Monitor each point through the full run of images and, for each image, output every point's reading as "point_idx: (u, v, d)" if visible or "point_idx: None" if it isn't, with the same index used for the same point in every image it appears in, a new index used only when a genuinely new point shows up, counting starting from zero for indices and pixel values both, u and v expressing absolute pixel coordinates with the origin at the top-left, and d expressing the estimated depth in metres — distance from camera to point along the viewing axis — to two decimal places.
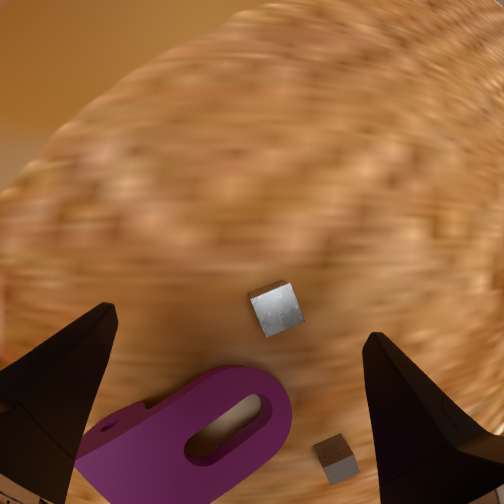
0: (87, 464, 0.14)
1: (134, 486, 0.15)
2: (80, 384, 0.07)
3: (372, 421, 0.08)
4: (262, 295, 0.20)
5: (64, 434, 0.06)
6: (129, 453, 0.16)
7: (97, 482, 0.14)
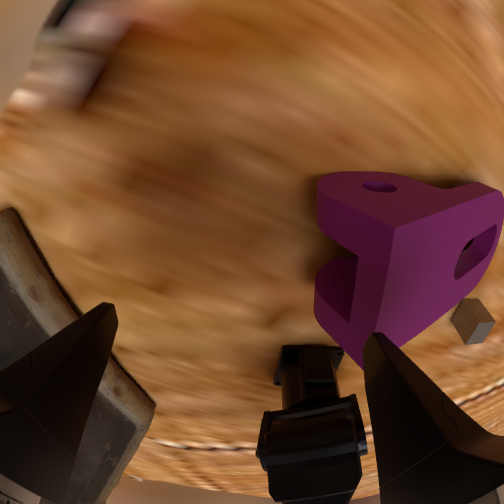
0: (407, 237, 0.12)
1: (415, 285, 0.14)
2: (80, 384, 0.07)
3: (372, 421, 0.08)
4: None
5: (64, 434, 0.06)
6: (442, 236, 0.14)
7: (395, 271, 0.13)
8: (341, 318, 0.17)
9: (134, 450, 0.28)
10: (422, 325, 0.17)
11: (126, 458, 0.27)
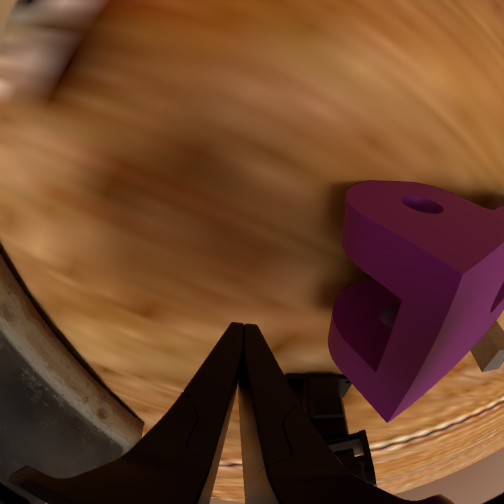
0: (469, 282, 0.08)
1: (460, 331, 0.10)
2: (229, 415, 0.07)
3: (240, 422, 0.08)
4: None
5: (215, 472, 0.06)
6: (494, 272, 0.10)
7: (448, 323, 0.09)
8: (367, 365, 0.13)
9: None
10: (451, 365, 0.13)
11: None
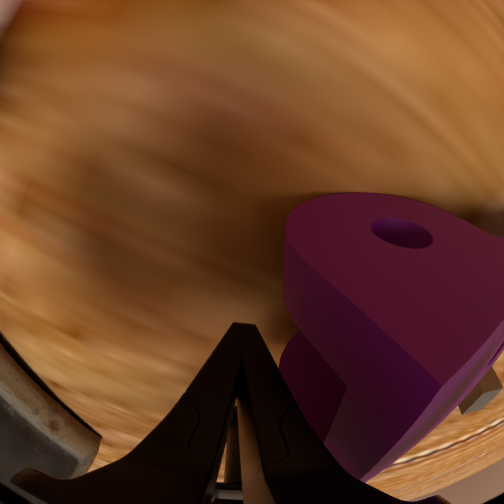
0: (456, 378, 0.04)
1: (438, 414, 0.07)
2: (231, 415, 0.07)
3: (238, 422, 0.08)
4: None
5: (217, 472, 0.06)
6: (499, 336, 0.06)
7: (414, 429, 0.05)
8: None
9: None
10: (430, 431, 0.10)
11: None
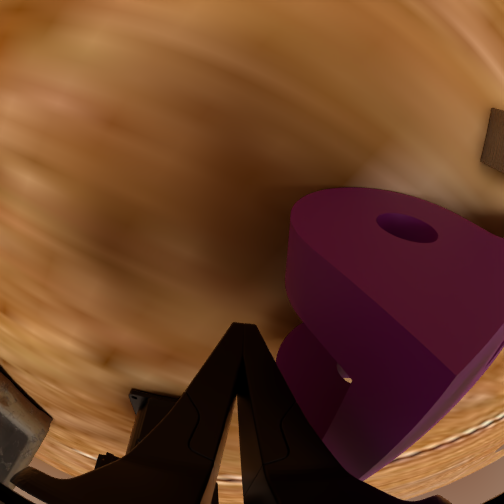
0: (466, 371, 0.04)
1: (440, 412, 0.07)
2: (230, 415, 0.07)
3: (238, 422, 0.08)
4: None
5: (217, 472, 0.06)
6: (502, 334, 0.06)
7: (420, 424, 0.05)
8: None
9: (27, 459, 0.21)
10: (426, 431, 0.10)
11: (20, 465, 0.19)
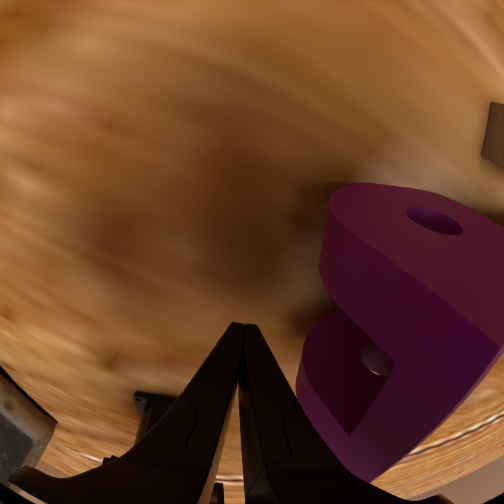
0: (501, 348, 0.04)
1: (466, 396, 0.07)
2: (229, 415, 0.07)
3: (240, 422, 0.08)
4: None
5: (215, 472, 0.06)
6: None
7: (459, 402, 0.05)
8: (339, 425, 0.09)
9: (33, 463, 0.21)
10: (445, 420, 0.10)
11: None
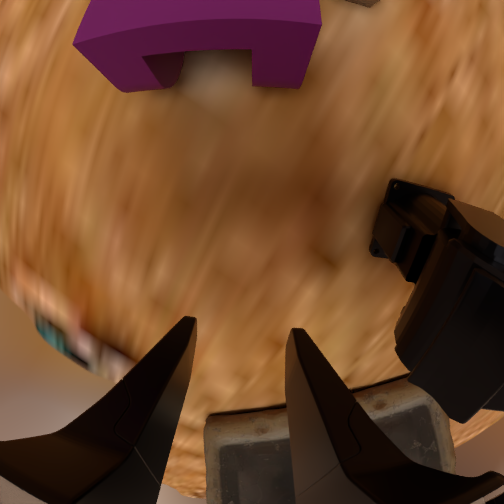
0: (94, 20, 0.07)
1: None
2: (173, 407, 0.07)
3: (289, 424, 0.08)
4: None
5: (158, 463, 0.06)
6: None
7: (128, 19, 0.07)
8: (253, 57, 0.10)
9: (442, 420, 0.25)
10: None
11: (441, 433, 0.24)
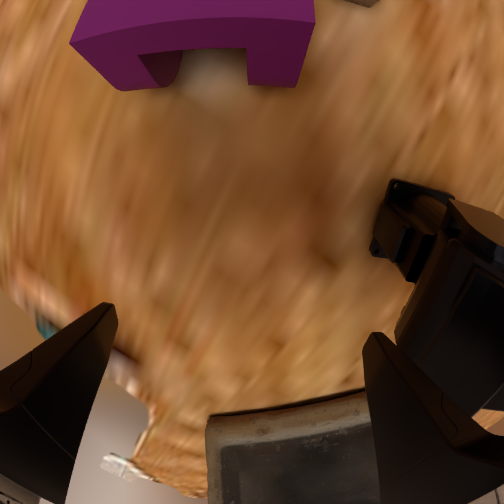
0: (91, 19, 0.07)
1: None
2: (80, 384, 0.07)
3: (372, 421, 0.08)
4: None
5: (64, 434, 0.06)
6: None
7: (123, 18, 0.07)
8: (248, 56, 0.10)
9: None
10: None
11: None
